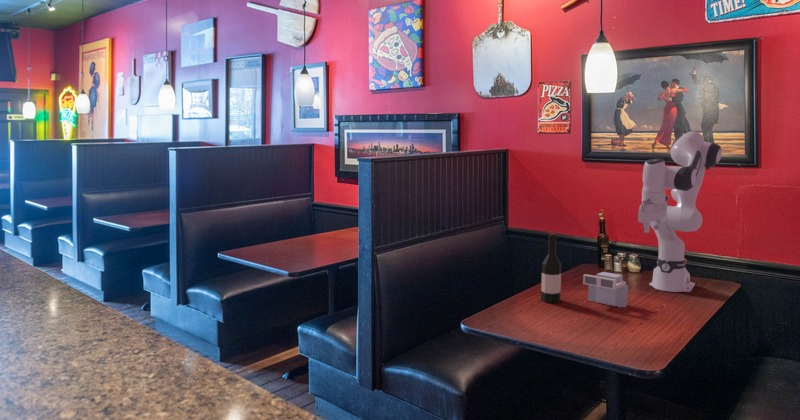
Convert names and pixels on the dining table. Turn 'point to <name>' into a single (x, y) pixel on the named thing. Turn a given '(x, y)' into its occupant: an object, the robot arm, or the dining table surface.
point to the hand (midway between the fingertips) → (651, 231)
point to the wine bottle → (551, 274)
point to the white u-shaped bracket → (602, 282)
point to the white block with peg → (609, 292)
